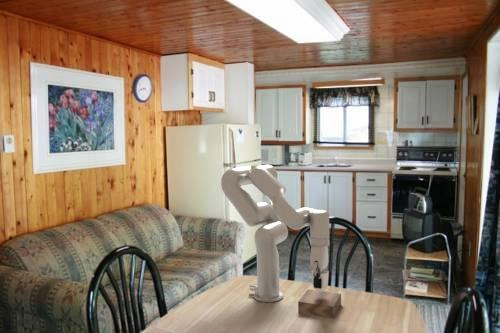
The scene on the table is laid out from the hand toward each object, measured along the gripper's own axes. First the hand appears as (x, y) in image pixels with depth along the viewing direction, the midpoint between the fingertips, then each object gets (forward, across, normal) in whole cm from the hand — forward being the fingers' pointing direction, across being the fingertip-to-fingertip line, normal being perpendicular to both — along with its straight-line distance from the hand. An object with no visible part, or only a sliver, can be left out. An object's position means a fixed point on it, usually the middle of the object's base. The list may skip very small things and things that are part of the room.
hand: (320, 284), depth 180 cm
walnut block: (+10, 0, 0) cm, 10 cm away
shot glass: (+1, 0, 0) cm, 1 cm away
